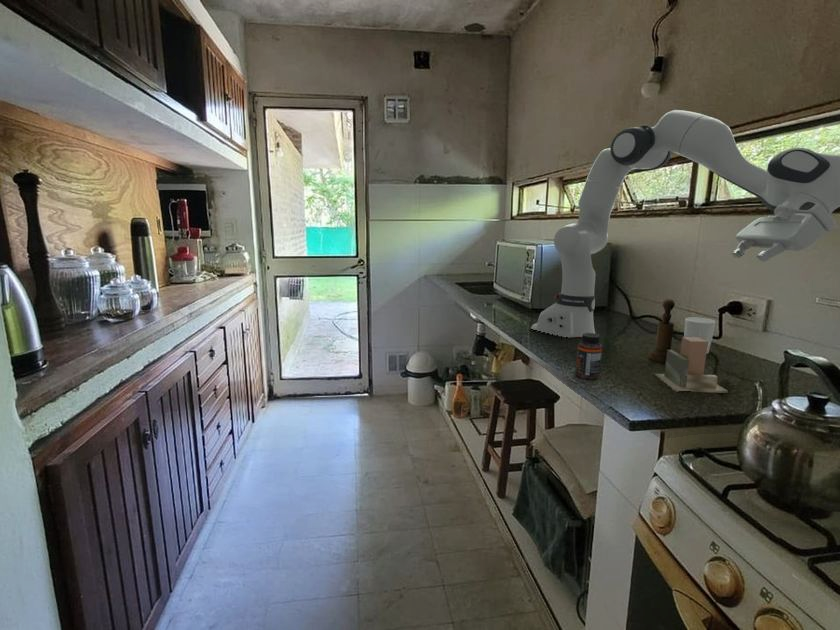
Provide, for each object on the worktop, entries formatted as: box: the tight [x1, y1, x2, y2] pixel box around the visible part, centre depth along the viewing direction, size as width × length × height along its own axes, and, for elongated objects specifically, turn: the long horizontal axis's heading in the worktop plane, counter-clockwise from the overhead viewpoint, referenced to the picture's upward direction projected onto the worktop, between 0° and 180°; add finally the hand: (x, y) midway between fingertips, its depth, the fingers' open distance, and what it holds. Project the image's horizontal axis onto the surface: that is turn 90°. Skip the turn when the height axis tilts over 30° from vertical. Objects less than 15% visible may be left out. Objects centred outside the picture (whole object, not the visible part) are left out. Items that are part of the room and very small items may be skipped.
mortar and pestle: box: [649, 298, 675, 364], centre depth 127 cm, size 7×6×18 cm
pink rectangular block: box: [679, 336, 708, 375], centre depth 109 cm, size 4×4×11 cm
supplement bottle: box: [575, 333, 603, 380], centre depth 114 cm, size 6×6×11 cm
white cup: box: [683, 316, 716, 355], centre depth 136 cm, size 8×8×10 cm
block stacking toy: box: [654, 349, 729, 394], centre depth 109 cm, size 12×11×8 cm
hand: (746, 257), depth 105 cm, fingers open, 8 cm apart
